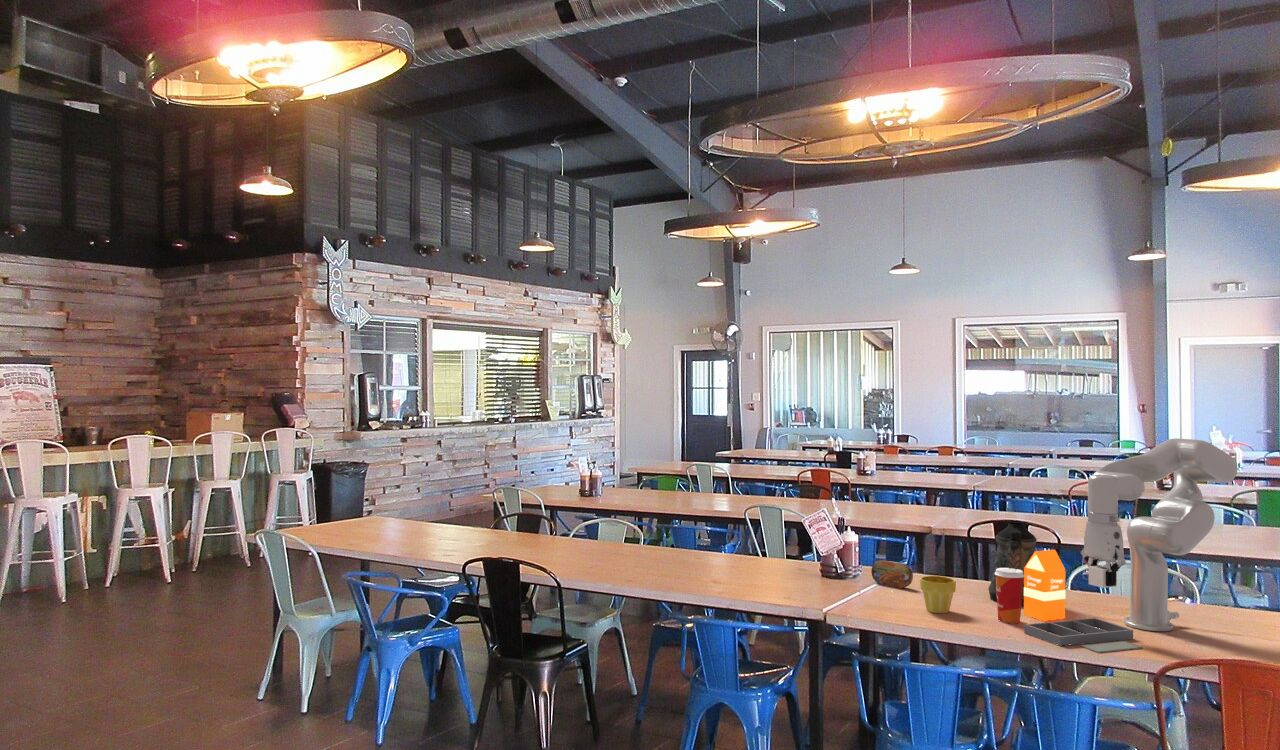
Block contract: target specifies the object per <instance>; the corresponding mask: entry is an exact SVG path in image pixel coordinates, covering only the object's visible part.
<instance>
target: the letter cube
mask: <svg viewBox="0 0 1280 750" xmlns="http://www.w3.org/2000/svg"><path fill="white" fill-rule="evenodd" d="M1107 571H1108V570H1107V566H1106V565H1099V564H1098V566H1089V567H1088V585H1090V586H1094V587H1098V588H1101V589H1106V588H1107V589H1108V588H1115V587H1116V588H1118V587H1117V585H1118V583H1117V582H1118V579H1117V578H1118V576H1117V575H1118V574H1117V573H1118V571H1117V572H1116V585H1115V586H1106V572H1107Z"/></svg>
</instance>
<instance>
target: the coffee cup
mask: <svg viewBox="0 0 1280 750" xmlns="http://www.w3.org/2000/svg"><path fill="white" fill-rule="evenodd" d="M1015 570H1016V569H1013V568H1011V569H1010V568H997V569H996V572H995V573H994V572H993V573H994V574H995V575H996V591H997V602H996V606H997V619H998V621H999V620H1000V621H1002V622H1001V623H1003V622H1006V623H1005V624H1010V623H1017V624H1019V622H1020V623H1021V616H1022V615H1021V614H1022V606H1021V602H1022V588H1023V577H1025V576H1024V575H1023V571H1022V570H1019V569H1017V570H1016V571H1015ZM1000 621H999V622H1000Z"/></svg>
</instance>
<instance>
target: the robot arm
mask: <svg viewBox="0 0 1280 750" xmlns="http://www.w3.org/2000/svg"><path fill="white" fill-rule="evenodd" d="M1172 473H1173V487H1172V488H1171V489H1170V490H1169V492H1167V494H1165V496H1163V497H1162V498H1161V499H1160V500H1159V501H1158V502H1156V503H1157V504H1155V506H1153V508H1152V510H1151V516H1138V517H1134V518H1133V519H1132V520H1130V521H1129V523H1128V525H1127V528H1126V537H1127V542H1128V545H1129V555H1130V556H1129V557H1130V577H1129V578H1130V585H1129V586H1130V589H1129V590H1130V593H1129V594H1130V595H1129V598H1130V600H1129V601H1130V602H1129V616H1128V617H1127V616H1126V617H1125V618H1124V619H1123V623H1124V624H1125V625H1126V626H1128V627H1131V628H1134V629H1137V630H1143V631H1144V630H1145V631H1150V632H1170V631H1172V630H1174V628H1175V627H1174V624H1173V623H1172V622H1171V619H1179V618H1180V613H1178V611H1171V612H1170V610H1169V609H1168V608H1169V607H1168V603H1169V601H1168V600H1169V598H1168V597H1169V595H1168V593H1169V590H1168V589H1169V583H1168V582H1169V580H1168V579H1169V578H1168V577H1169V568H1168V563H1167V560H1166V558H1165V556H1164V555H1163V554H1169V555H1174V556H1184V555H1187V554H1189V553H1190V552H1191V551H1193V550H1194V548H1196V547H1197V545H1198V544H1199V543H1201V541H1202V540H1203V539H1204V538H1205V537H1206V536H1207V535H1208V534H1209V533H1210V532H1211V531H1212V529H1213V526H1214V523H1215V512H1214V510H1213V507H1211V505H1210V504H1209V503H1207V502H1205V501H1203V500H1204V497H1203V493H1202V490H1201V489H1200V487H1199V486H1198V482H1207V483H1215V484H1216V483H1217V484H1227V483H1231V482H1232V481H1234V479H1235V478H1236V477H1237V474H1238V464H1237V462H1236V460H1235V459H1234V458H1233V457H1232V455H1230V454H1229V453H1227V452H1225V451H1223V449H1221V448H1219V447H1217V446H1215V445H1214V444H1212V443H1211V442H1210V443H1209V442H1208V441H1205V440H1202V439H1192V438H1191V439H1189V438H1171V439H1170V438H1169V439H1167V440H1165V441H1163V442H1161V443H1160V444H1158V445H1156V446H1154V447H1152V448H1151V449H1150V450H1148V451H1146V452H1145V453H1143V454H1139V455H1135V456H1131V457H1127V458H1123V459H1119V460H1116V461H1113V462H1110V463H1108V464H1105V465H1103V466H1102V467H1101V468H1099V469H1097V470H1096V471H1095V472H1093V474H1091V475H1089V477H1088V478H1087V522H1086V525H1085V531H1084V538H1083V539H1084V540H1083V541H1084V542H1083V548H1082V549H1081V551H1080V555H1081V556H1082V557H1083V558H1084V560H1085V562H1086V565H1087V567H1088V568H1089V566H1099V563H1100V560H1101V561H1105V566H1107V570H1108V571H1107V572H1106V586H1115V585H1116V572H1117V573H1118V572H1119V570H1120V568H1121V567H1122V566H1124V565H1125V564H1126V563H1127V561H1126V559H1125V555H1124V554H1125V553H1124V538H1123V532H1122V531H1123V530H1122V527H1121V525H1119V522H1120V521H1121V519H1120V517H1119V509H1118V508H1119V500H1121V501H1136V500H1138V499H1140V498H1141V497H1142V496H1143V495H1144V493H1145V488H1146V486H1145V483H1152V482H1157V481H1161V480H1163V479H1164V478H1166V477H1168V476H1169V475H1171V474H1172Z"/></svg>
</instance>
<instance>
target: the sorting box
mask: <svg viewBox="0 0 1280 750" xmlns="http://www.w3.org/2000/svg"><path fill="white" fill-rule="evenodd" d="M1095 627H1097V628H1095ZM1099 628H1100V629H1099ZM1073 629H1074V630H1073ZM1076 630H1077V631H1076ZM1047 631H1051V632H1047ZM1078 631H1080V632H1078ZM1052 632H1053V633H1052ZM1081 632H1083V633H1081ZM1025 633H1027V634H1026V635H1028V634H1029V636H1031V635H1033V636H1035V637H1034V638H1036V637H1038V638H1037V639H1039V638H1041V639H1040V640H1042V639H1044V640H1046V641H1045V642H1047V641H1049V642H1048V643H1050V642H1052V643H1055V644H1058V645H1060V646H1059V647H1063V646H1062V645H1069V644H1079V645H1083V644H1082V643H1089V644H1095V643H1094V642H1099V643H1107V642H1106V641H1109V642H1117V641H1116V640H1119V641H1127V639H1129V640H1133V639H1134V630H1133V629H1131V628H1128V627H1124V626H1122V625H1118V624H1116V623H1112V622H1108V621H1105V620H1102V619H1100V618H1098V617H1097V618H1096V617H1091V618H1082V619H1080V618H1079V619H1069V620H1059V621H1057V620H1055V621H1044V622H1035V623H1025V624H1024V634H1025ZM1055 633H1056V634H1055ZM1084 633H1086V634H1084ZM1058 634H1059V635H1058ZM1061 635H1062V636H1061ZM1033 636H1032V637H1033ZM1044 640H1043V641H1044ZM1052 643H1051V644H1052ZM1055 644H1054V645H1055ZM1058 645H1057V646H1058ZM1069 646H1070V645H1069Z"/></svg>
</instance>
